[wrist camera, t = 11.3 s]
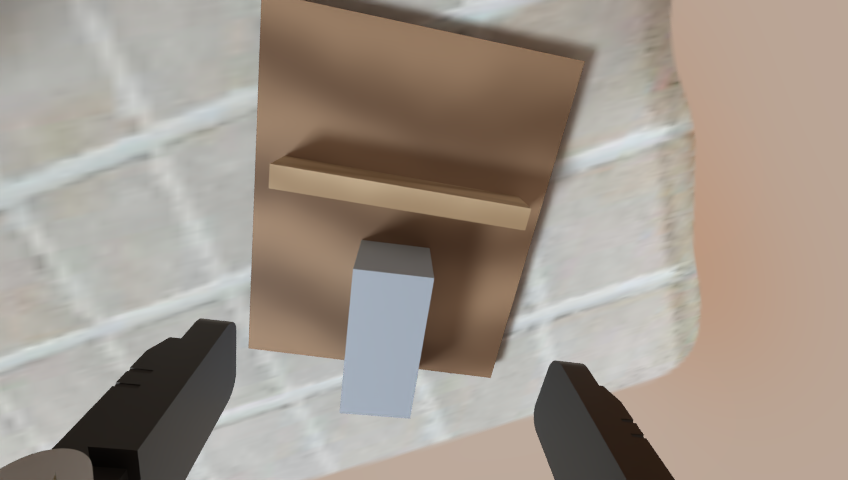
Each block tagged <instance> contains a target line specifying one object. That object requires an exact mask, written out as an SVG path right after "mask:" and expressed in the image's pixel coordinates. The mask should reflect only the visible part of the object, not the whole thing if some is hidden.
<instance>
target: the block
mask: <svg viewBox="0 0 848 480" xmlns="http://www.w3.org/2000/svg"><path fill="white" fill-rule="evenodd" d="M433 283H434V273H433V267H432V261H431V254H430V248H424V247H416V246H408V245H399V244H391V243H383V242H375V241H366V240H361V244H360V247H359V250H358V254H357V257H356V261H355V264H354V267H353V275H352V286H351V296H350V307H349V318H348V329H347V339H346V350H345V361H344V372H343V382H342V393H341V404H340V413H346V414H359V415H372V416H384V417H397V418H410V415H411V410H412V404H413V398H414V392H415V387H416V381H417V375H418V369H419V363H420V358H421V352H422V346H423V340H424V335H425V329H426V323H427V317H428V311H429V306H430V300H431V294H432V288H433Z"/></svg>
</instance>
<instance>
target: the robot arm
mask: <svg viewBox="0 0 848 480" xmlns="http://www.w3.org/2000/svg"><path fill="white" fill-rule="evenodd" d="M235 377H236V325H235V323H234V322H227V321H219V320H210V319H199V320H197V321H196V322H195V323H194V324H193V326H192V327H191V328H190V329H189V330H188V331H187V332H186V334H185V335H184V336H183V337H182V338H181V339H180V338H171V337H170V338H168V339H166V340H164V341H163V342H161V343H159V344H157V345H156V346H154V347H152V348H150V349H149V350H147V351H146V352H145V353H144V354H143V355H142V356H141V357H140V358H139V359H138V360H137V361H136V362H135V363H134V364H133V365H132V366H131V367H130V370H129V371H127V372H126V373H125V374H124V375H123V376H122V377H121V378H120V379H119V380H118V381H117V382H116V385H115V386H112V387H111V388H110V389H109V390H108V391H107V392H106V393H105V394H104V395H103V397H102V398H101V399H100V400H99V401H98V402H97V403H96V404H95V405H94V406H93V407H92V408H91V409H90V410H89V411H88V412H87V413H86V414H85V415H84V416H83V417H82V418H81V419H80V420H79V422H78V423H77V424H76V425H75V426H74V427H73V428H72V429H71V430H70V431H69V432H68V433H67V434H66V435H65V436H64V437H63V438H62V439H61V440H60V441H59V442H58V443H57V444H56V445H55V446H54V447H53V448H52V449H51V450H45V451H41V452H37V453H34V454H31V455H28V456H25V457H23V458H20V459H18V460H16V461H14V462H12V463H10V464H8V465H6V466H4V467H3V468H1V469H0V480H185V479H186V478H187V476H188V474H189V472H190V470H191V468H192V467H193V465H194V463H195V461H196V459H197V457H198V456H199V454H200V452H201V450H202V448H203V447H204V445H205V443H206V441H207V439H208V437H209V436H210V434H211V432H212V430H213V428H214V426H215V425H216V423H217V421H218V419H219V417H220V415H221V414H222V412H223V410H224V408H225V406H226V405H227V403H228V401H229V399H230V396H231V394H232V391H233V387H234V383H235ZM534 424H535V429H536V432H537V435H538V437H539V440H540V443H541V445H542V448H543V450H544V453H545V456H546V458H547V461H548V463H549V466H550V468H551V471H552V474H553V476H554V479H555V480H675V479H674V478H673V477H672V475H671V474H670V472H669V471H668V469H667V468H666V467H665V465H664V463H663V462H662V461H661V459H660V458H659V456H658V455H657V453H656V452H655V451H654V449H653V448H652V446H651V445H650V443H649V442H648V440H647V439H645V438H644V437H643V433H642V432H641V430H640V429H639V427H638V426H637V424H636V423H633V419H632V417H631V416H630V415H629V413H628V411H627V410H626V409H625V407H624V406H623V404H622V403H621V402H620V401H619V400H618V399H617V398H616V397H615V396H613V394H611V393H610V392H609V391H608V390H607V389H606V388H605V387H604V386H599V385H598V383H597V382H596V380H595V379H594V377H593V376H592V374H591V373H590V371H589V370H588V368H587V367H586V366H585V365H584V364H580V363H572V362H563V361H553V362H552V363H551V364H550V366H549V368H548V371H547V374H546V377H545V379H544V382H543V385H542V388H541V391H540V393H539V396H538V399H537V402H536V405H535V409H534Z"/></svg>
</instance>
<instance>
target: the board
mask: <svg viewBox="0 0 848 480" xmlns="http://www.w3.org/2000/svg"><path fill="white" fill-rule="evenodd" d="M584 63H585V61H581V60H576V59H571V58H567V57H562V56H558V55H553V54H548V53H544V52H539V51H534V50H530V49H525V48H521V47H516V46H511V45H507V44H502V43H498V42H493V41H488V40H484V39H479V38H474V37H470V36H465V35H461V34H456V33H451V32H447V31H442V30H437V29H433V28H428V27H424V26H419V25H414V24H410V23H405V22H400V21H396V20H391V19H387V18H382V17H377V16H373V15H368V14H363V13H359V12H354V11H350V10H345V9H340V8H336V7H331V6H326V5H322V4H317V3H313V2H308V1H303V0H261V27H260V54H259V81H258V108H257V135H256V162H255V189H254V216H253V243H252V270H251V297H250V324H249V348H251V349H259V350H267V351H275V352H284V353H292V354H300V355H308V356H316V357H325V358H333V359H341V360H345V350H346V339H347V329H348V318H349V307H350V296H351V286H352V275H353V267H354V264H355V261H356V257H357V254H358V250H359V247H360V244H361V240H366V241H375V242H383V243H391V244H399V245H408V246H416V247H424V248H430V254H431V261H432V267H433V273H434V283H433V288H432V294H431V300H430V306H429V311H428V317H427V323H426V329H425V335H424V340H423V346H422V352H421V358H420V363H419V369H423V370H431V371H439V372H447V373H456V374H464V375H472V376H480V377H488V378H491V375H492V371H493V368H494V364H495V361H496V358H497V354H498V351H499V348H500V344H501V341H502V338H503V334H504V331H505V328H506V324H507V321H508V318H509V314H510V311H511V307H512V304H513V301H514V297H515V294H516V291H517V287H518V284H519V281H520V277H521V274H522V271H523V267H524V264H525V261H526V257H527V254H528V250H529V247H530V244H531V240H532V237H533V234H534V230H535V227H536V224H537V220H538V217H539V214H540V210H541V207H542V204H543V200H544V197H545V193H546V190H547V187H548V183H549V180H550V177H551V173H552V170H553V167H554V163H555V160H556V157H557V153H558V150H559V147H560V143H561V140H562V136H563V133H564V130H565V126H566V123H567V120H568V116H569V113H570V110H571V106H572V103H573V100H574V96H575V93H576V90H577V86H578V83H579V79H580V76H581V73H582V69H583V66H584Z"/></svg>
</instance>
